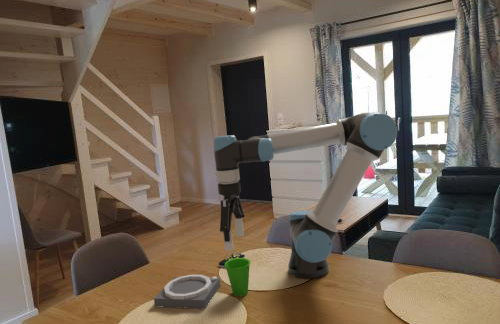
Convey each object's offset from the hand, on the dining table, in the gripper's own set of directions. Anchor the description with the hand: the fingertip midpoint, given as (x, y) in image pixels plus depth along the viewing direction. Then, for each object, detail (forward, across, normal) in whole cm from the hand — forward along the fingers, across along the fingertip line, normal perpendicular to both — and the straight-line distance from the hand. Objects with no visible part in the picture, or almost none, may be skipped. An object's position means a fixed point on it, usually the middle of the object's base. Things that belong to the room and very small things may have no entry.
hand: (234, 242), depth 125 cm
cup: (+18, 0, 0) cm, 18 cm away
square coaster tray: (+18, +3, -18) cm, 26 cm away
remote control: (+19, -27, -11) cm, 35 cm away
